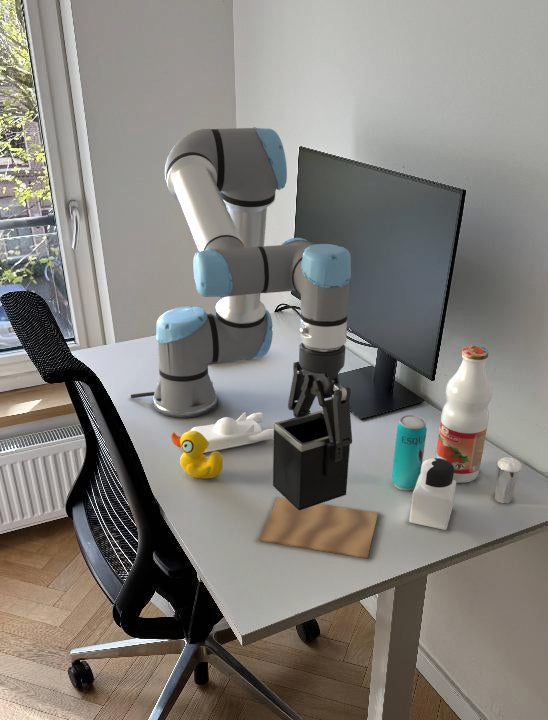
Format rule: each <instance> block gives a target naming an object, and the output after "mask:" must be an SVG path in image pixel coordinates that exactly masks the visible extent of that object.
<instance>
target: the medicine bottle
mask: <svg viewBox="0 0 548 720" xmlns="http://www.w3.org/2000/svg"><path fill="white" fill-rule="evenodd" d="M453 475H454V467H453V465H452V464H451V463H450V462H448V461H446V460H443V459H438V458H435V457H433V458H428V459H425V460H424V461H422V466H421V473H420V475H419V478H418V480H417V483H416V486H415V489H413V490H412V491H413V492H412V497H411V505H410V513H409V519H408V521H409V523H411V524H415V525H419V526H426V527H428V528H429V527H430V528H433V529H437V530H443V531H446V530H447V529H448V526H449V523H450V518H451V516H452V512H453V507H454V506H453V505H454V500H455V494H456V487H457V483H456V481H455V480H453Z"/></svg>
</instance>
